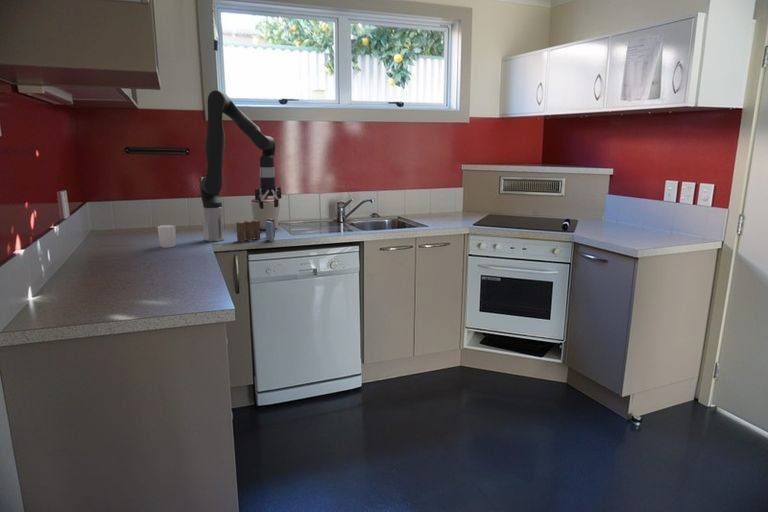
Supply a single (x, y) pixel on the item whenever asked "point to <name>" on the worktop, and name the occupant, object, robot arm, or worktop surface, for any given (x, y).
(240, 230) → the domino
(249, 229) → the domino
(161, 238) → the white cup
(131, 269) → the worktop surface
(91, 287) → the worktop surface
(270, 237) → the domino
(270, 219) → the domino
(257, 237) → the domino
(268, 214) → the canister
